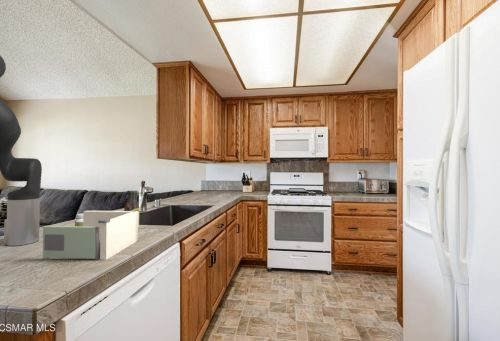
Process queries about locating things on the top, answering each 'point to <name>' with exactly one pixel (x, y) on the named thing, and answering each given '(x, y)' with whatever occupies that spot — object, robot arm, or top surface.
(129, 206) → the sauce bottle
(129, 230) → the cabinet frame
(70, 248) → the door
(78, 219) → the supplement bottle
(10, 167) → the robot arm
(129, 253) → the top surface
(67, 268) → the top surface
